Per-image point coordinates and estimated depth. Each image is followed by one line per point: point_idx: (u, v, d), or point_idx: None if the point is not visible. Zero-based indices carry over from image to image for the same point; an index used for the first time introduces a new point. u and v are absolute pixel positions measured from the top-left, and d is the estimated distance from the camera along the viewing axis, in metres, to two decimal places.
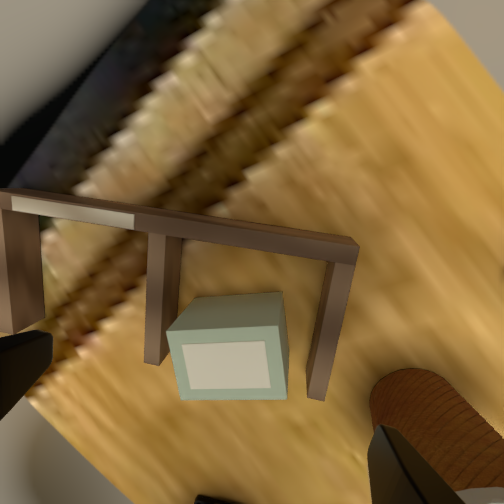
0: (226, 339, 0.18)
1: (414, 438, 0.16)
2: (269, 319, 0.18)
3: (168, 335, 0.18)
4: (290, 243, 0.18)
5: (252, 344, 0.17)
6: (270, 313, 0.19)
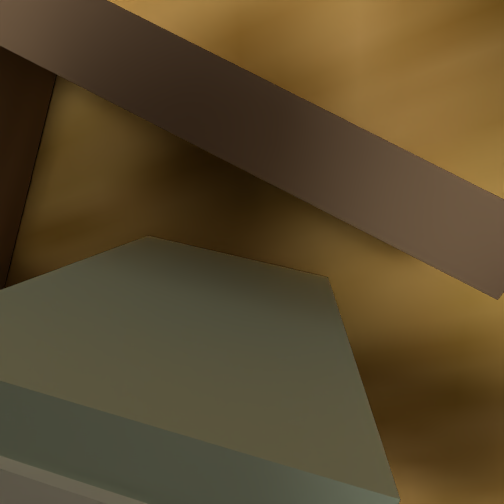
0: None
1: None
2: None
3: None
4: None
5: None
6: None
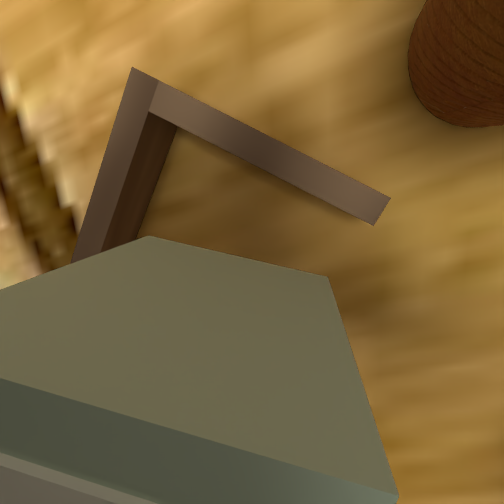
0: None
1: (480, 0, 0.07)
2: None
3: None
4: (110, 170, 0.12)
5: None
6: None
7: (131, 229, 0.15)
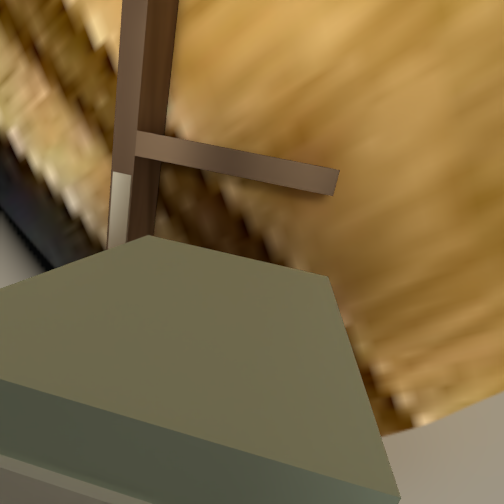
0: None
1: None
2: None
3: None
4: None
5: None
6: None
7: (167, 30, 0.15)
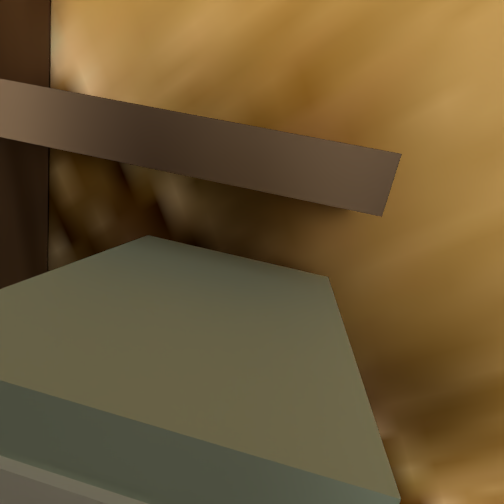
0: None
1: None
2: None
3: None
4: None
5: None
6: None
7: None
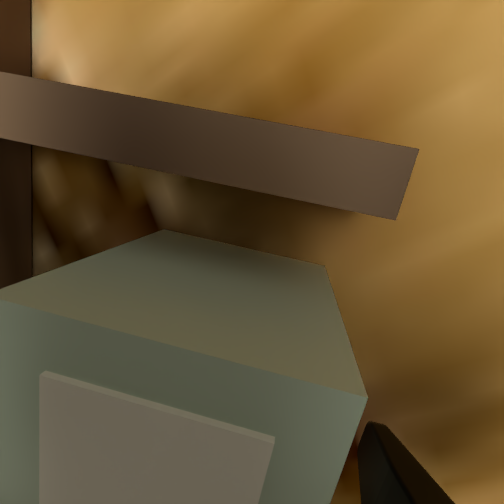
0: (37, 490, 0.05)
1: None
2: None
3: None
4: None
5: (51, 423, 0.04)
6: None
7: None
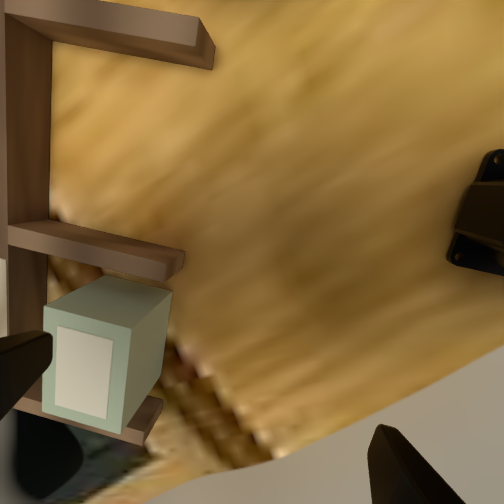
0: (55, 360, 0.16)
1: None
2: None
3: (46, 411, 0.17)
4: None
5: (60, 338, 0.16)
6: None
7: (39, 139, 0.18)
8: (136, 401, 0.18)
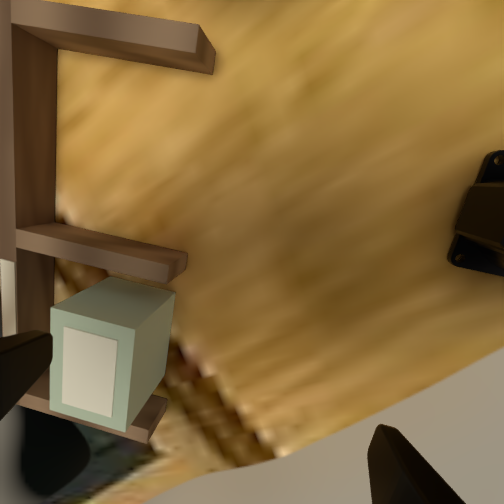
0: (62, 360, 0.17)
1: None
2: None
3: (53, 409, 0.18)
4: (0, 81, 0.16)
5: (66, 339, 0.16)
6: None
7: (45, 144, 0.19)
8: (141, 400, 0.19)
